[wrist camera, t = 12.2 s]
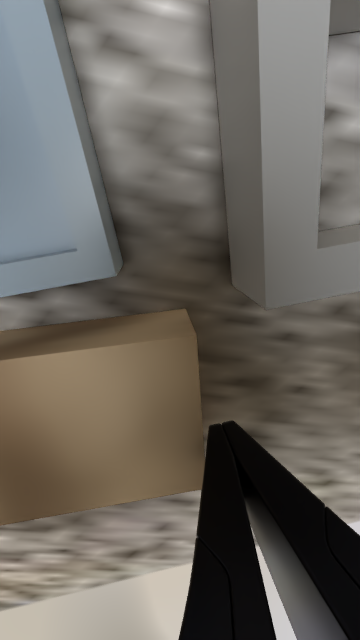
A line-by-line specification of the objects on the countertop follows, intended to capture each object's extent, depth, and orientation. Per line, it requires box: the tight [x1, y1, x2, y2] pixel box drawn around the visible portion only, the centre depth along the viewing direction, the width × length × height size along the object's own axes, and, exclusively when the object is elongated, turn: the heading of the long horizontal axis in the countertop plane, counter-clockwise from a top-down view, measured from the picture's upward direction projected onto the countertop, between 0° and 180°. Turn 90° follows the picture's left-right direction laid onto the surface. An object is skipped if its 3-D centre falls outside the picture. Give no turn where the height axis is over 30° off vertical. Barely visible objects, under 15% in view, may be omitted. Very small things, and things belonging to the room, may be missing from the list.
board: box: [0, 309, 205, 525], centre depth 8 cm, size 10×6×2 cm, turn 95°
